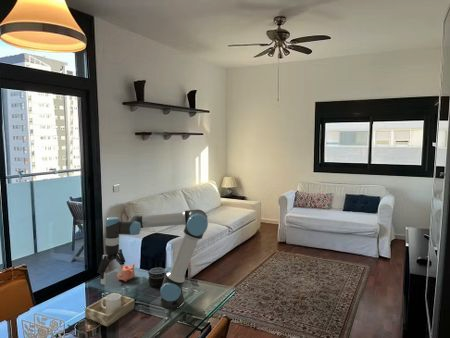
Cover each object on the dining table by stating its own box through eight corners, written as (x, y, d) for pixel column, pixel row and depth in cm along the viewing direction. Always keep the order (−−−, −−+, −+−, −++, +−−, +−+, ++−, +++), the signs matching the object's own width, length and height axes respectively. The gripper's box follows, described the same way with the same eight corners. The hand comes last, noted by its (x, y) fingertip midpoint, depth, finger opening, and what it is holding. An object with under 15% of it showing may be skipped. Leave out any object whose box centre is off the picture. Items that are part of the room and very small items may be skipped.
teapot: (132, 283, 232) (133, 269, 231) (115, 283, 230) (116, 269, 229) (135, 275, 246) (135, 262, 245) (119, 275, 244) (119, 262, 243)
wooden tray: (134, 308, 197) (134, 299, 197) (107, 326, 177) (108, 316, 177) (112, 301, 204) (113, 292, 204) (85, 318, 184) (85, 308, 184)
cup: (115, 317, 185) (116, 300, 184) (96, 314, 187) (97, 298, 186) (122, 310, 193) (123, 294, 193) (104, 307, 195) (104, 291, 195)
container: (152, 289, 224) (152, 275, 223) (145, 282, 234) (145, 269, 233) (169, 285, 231) (169, 272, 231) (161, 278, 242) (161, 265, 241)
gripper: (122, 237, 200) (121, 270, 202) (90, 249, 177) (90, 286, 179) (131, 239, 197) (131, 273, 199) (100, 251, 174) (100, 289, 176)
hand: (111, 279), depth 189 cm, fingers open, 13 cm apart
